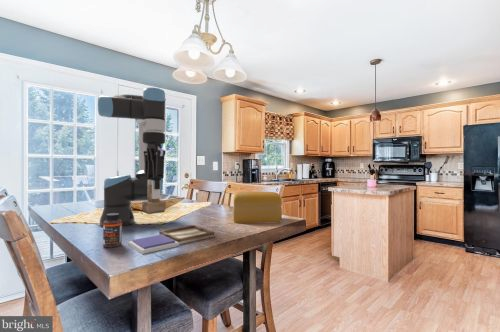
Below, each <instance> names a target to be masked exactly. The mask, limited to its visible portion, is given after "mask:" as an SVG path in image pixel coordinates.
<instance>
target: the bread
mask: <svg viewBox="0 0 500 332" xmlns="http://www.w3.org/2000/svg"><path fill="white" fill-rule="evenodd" d="M282 205H283V202H282V198H281V195H280V193H277V192H276V191H239V192H235V194H234V196H233V212H232V213H233V215H232V217H233V223H234V224H257V223H256V222H280V221H281V222H282V219H283V213H282V211H283V209H282ZM281 222H280V223H281Z"/></svg>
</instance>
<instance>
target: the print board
mask: <svg viewBox="0 0 500 332" xmlns="http://www.w3.org/2000/svg"><path fill="white" fill-rule="evenodd" d="M158 232H159V233H158V235H164V236H166V237H168V238H170V239H173V240H175V241H177V242H179V245H183V244H187V243H191V242H195V241H200V240H205V239H209V237H210V238H213V237H215V231H213V230H210V229H207V228H204V227H201V226H198V225H195V224H192V225H186V226H181V227H175V228H169V229H163V230H159V231H158Z"/></svg>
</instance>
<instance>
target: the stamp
mask: <svg viewBox="0 0 500 332" xmlns="http://www.w3.org/2000/svg"><path fill="white" fill-rule="evenodd" d="M141 210H142V212H143V213H145V214H148V215H154V214H162V213H165V211H166V201H164V200H162V199H161V197H160V198H158V199H152V185H148V200H145V201H141Z"/></svg>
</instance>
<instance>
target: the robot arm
mask: <svg viewBox="0 0 500 332" xmlns="http://www.w3.org/2000/svg"><path fill="white" fill-rule="evenodd" d="M166 100H167V98H166V92H165V90H164V89H161V88H157V87H146V88H144V89H143V90H142V95H139V94H138V95H137V94H135V95H134V94H129V93H128V94H126V93H125V94H117V95H113V96H109V95H106V96H105V95H99V97H98V98H97V111H98V115H99V116H101V117H104V118H116V119H117V118H118V119H130V120H131V119H132V120H135V123H136V124H137V125H138V171H137V172H136V173H135V177H132V176H131V174H125V175H117V176H115V175H114V176H109V177H106V178H105V179H104V182H103V210H102V213H101V215H100V219H99V226H101V227H103V223H104V221H105V220H106V219H107V218H106V217H107V214H110V213H119V219H121V220H122V227H123V226H128V225H132V224H134V223H135V215H134V212H133V209H132V207H131V202H142V201H148V185H152V199H158V198H160V199H161V196H162V192H163V187H164V186H163V185H164V175H165V174H164V173H165V157H166V149H162V145H164V144H166V133H165V132H166Z"/></svg>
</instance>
